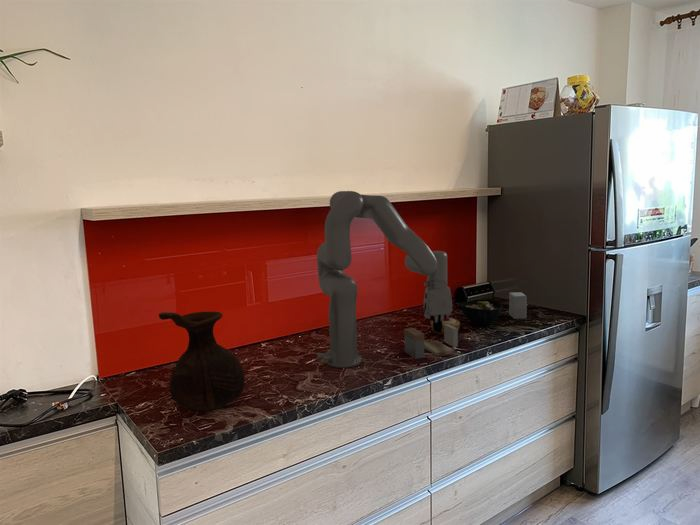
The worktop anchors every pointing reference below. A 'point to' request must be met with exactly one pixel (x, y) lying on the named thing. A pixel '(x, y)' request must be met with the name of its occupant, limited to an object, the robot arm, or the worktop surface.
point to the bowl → (481, 311)
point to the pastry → (447, 321)
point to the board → (437, 348)
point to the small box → (517, 305)
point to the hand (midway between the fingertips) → (437, 331)
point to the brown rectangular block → (414, 342)
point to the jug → (204, 366)
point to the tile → (451, 335)
